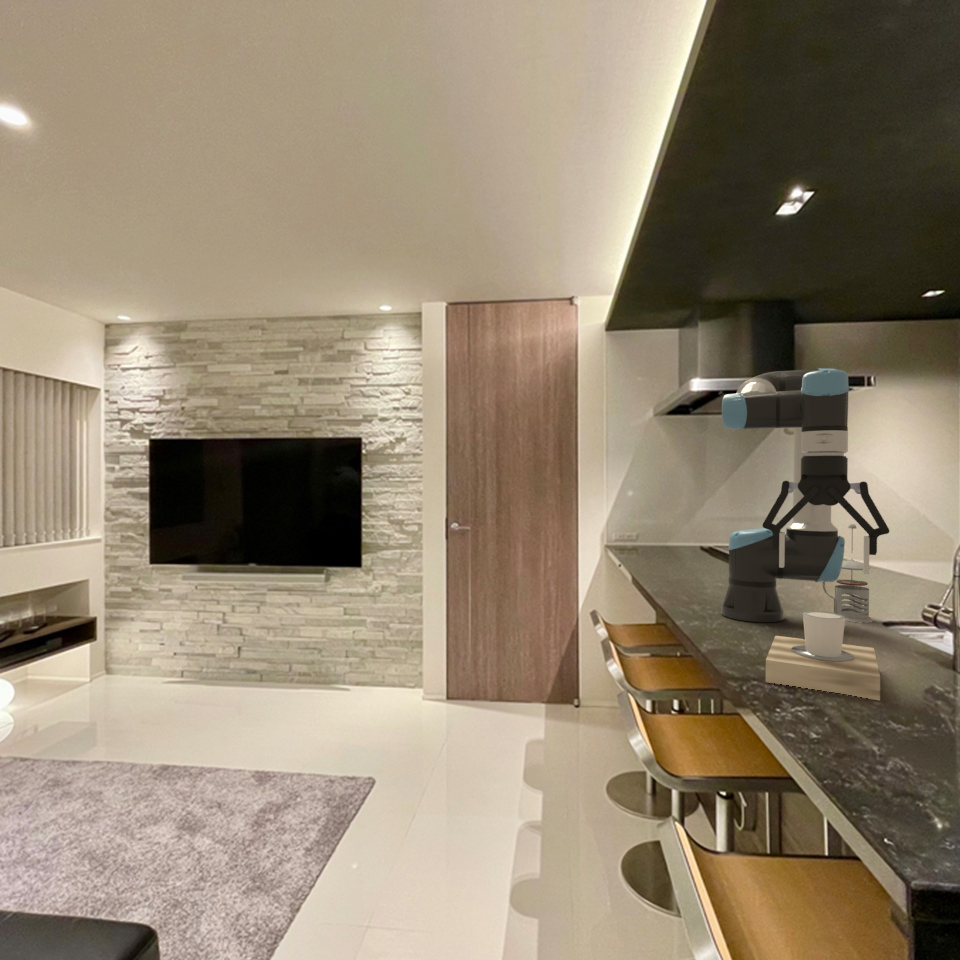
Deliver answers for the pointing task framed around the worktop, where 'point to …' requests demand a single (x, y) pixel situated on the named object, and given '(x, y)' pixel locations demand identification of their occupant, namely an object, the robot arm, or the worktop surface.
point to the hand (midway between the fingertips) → (822, 569)
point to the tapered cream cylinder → (823, 633)
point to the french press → (851, 594)
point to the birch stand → (824, 668)
